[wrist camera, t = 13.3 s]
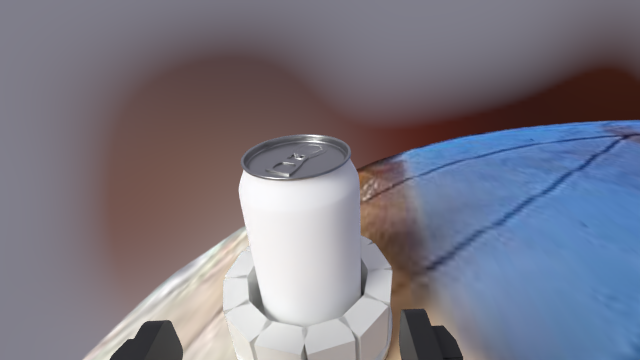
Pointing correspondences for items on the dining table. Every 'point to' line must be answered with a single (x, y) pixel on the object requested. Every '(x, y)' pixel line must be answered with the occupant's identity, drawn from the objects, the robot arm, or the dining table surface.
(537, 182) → the dining table surface
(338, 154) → the can
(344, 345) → the holder
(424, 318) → the robot arm
